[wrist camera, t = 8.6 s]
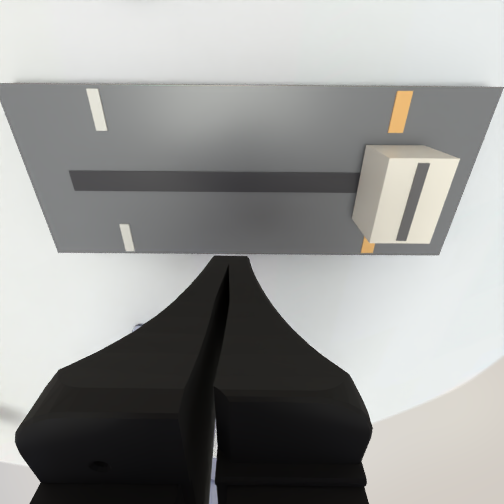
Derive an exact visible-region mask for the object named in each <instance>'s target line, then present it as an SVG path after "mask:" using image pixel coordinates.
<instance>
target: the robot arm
mask: <svg viewBox="0 0 504 504" xmlns="http://www.w3.org/2000/svg"><path fill="white" fill-rule="evenodd" d="M215 428H216V429H217V443H218V450H217V458H213V446H214V437H215ZM372 429H373V428H372V424H371V421H370V417H369V414H368V411H367V409H366V406H365V404H364V402H363V400H362V398H361V396H360V394H359V392H358V390H357V388H356V386H355V384H354V382H353V380H352V378H351V377H350V375H349V374H348V373H347V372H345V371H344V370H342V369H341V368H340V367H338V366H337V365H335V364H334V363H332V362H331V361H330V360H328V359H327V358H325V357H324V356H322V355H321V354H320V353H319V352H317V351H316V350H315V349H314V348H312V347H311V346H310V345H309V344H308V343H307V342H306V341H305V340H304V339H303V338H302V337H300V336H299V335H298V334H297V333H296V332H295V331H294V330H293V329H292V328H291V327H290V326H289V325H288V323H287V322H286V321H285V320H284V319H283V318H282V317H281V315H280V314H279V313H278V312H277V310H276V309H275V308H274V306H273V305H272V304H271V302H270V301H269V299H268V298H267V296H266V295H265V293H264V291H263V290H262V288H261V286H260V284H259V283H258V281H257V279H256V277H255V275H254V272H253V270H252V267H251V264H250V260H249V258H248V257H247V256H214V257H213V258H212V259H211V260H210V262H209V263H208V264H207V266H206V267H205V268H204V270H203V271H202V272H201V273H200V274H199V276H198V277H197V278H196V279H195V280H194V281H193V282H192V284H191V285H190V286H189V287H188V288H187V289H186V290H185V291H184V292H183V293H182V294H181V295H180V296H179V297H178V298H177V299H176V300H175V301H174V302H172V303H171V304H170V305H169V306H168V307H167V308H166V309H164V310H163V311H162V312H161V313H159V314H158V315H157V316H155V317H154V318H153V319H151V320H150V321H148V322H147V323H145V324H144V325H142V326H135V327H134V328H133V330H132V333H130V334H129V335H127V336H125V337H123V338H122V339H120V340H118V341H117V342H115V343H113V344H111V345H109V346H108V347H106V348H104V349H102V350H100V351H98V352H96V353H94V354H92V355H90V356H88V357H86V358H83V359H81V360H79V361H77V362H75V363H73V364H71V365H69V366H66V367H64V368H62V369H60V370H58V372H57V373H56V374H55V375H54V377H53V378H52V379H51V381H50V382H49V383H48V385H47V386H46V387H45V389H44V390H43V392H42V393H41V395H40V396H39V398H38V399H37V401H36V402H35V404H34V405H33V407H32V408H31V410H30V411H29V413H28V414H27V416H26V417H25V419H24V420H23V422H22V423H21V425H20V426H19V428H18V429H17V431H16V433H15V443H16V446H17V448H18V450H19V452H20V455H21V456H22V457H23V459H24V460H25V461H26V463H27V464H28V466H29V467H30V468H31V470H32V471H33V472H34V474H35V475H36V476H37V478H38V479H39V480H40V482H41V483H40V485H39V487H38V489H37V491H36V493H35V494H34V496H33V498H32V500H31V502H30V504H369V502H368V499H367V495H366V492H365V488H364V486H366V484H367V481H366V475H365V472H364V469H363V465H362V462H361V461H362V458H363V456H364V453H365V451H366V448H367V446H368V444H369V441H370V439H371V435H372Z"/></svg>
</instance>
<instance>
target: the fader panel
mask: <svg viewBox="0 0 504 504" xmlns="http://www.w3.org/2000/svg"><path fill="white" fill-rule="evenodd" d="M503 88H504V87H453V86H321V85H190V84H58V83H0V102H1V104H2V107H3V109H4V112H5V115H6V117H7V120H8V123H9V125H10V128H11V130H12V133H13V136H14V138H15V141H16V143H17V146H18V149H19V151H20V154H21V157H22V159H23V162H24V164H25V167H26V170H27V172H28V175H29V177H30V180H31V183H32V185H33V188H34V191H35V193H36V196H37V198H38V201H39V204H40V206H41V209H42V211H43V214H44V217H45V219H46V222H47V224H48V227H49V230H50V232H51V235H52V238H53V240H54V243H55V245H56V248H57V251H58V253H184V254H322V255H439V254H440V251H441V249H442V246H443V243H444V241H445V238H446V236H447V233H448V231H449V228H450V225H451V223H452V220H453V218H454V215H455V212H456V210H457V207H458V205H459V202H460V199H461V197H462V194H463V192H464V189H465V186H466V184H467V181H468V179H469V176H470V174H471V171H472V168H473V166H474V163H475V161H476V158H477V155H478V153H479V150H480V148H481V145H482V142H483V140H484V137H485V135H486V132H487V130H488V127H489V124H490V122H491V119H492V117H493V114H494V111H495V109H496V106H497V104H498V101H499V98H500V96H501V93H502V91H503ZM366 145H425V146H427V147H430V148H433V149H435V150H438V151H441V152H444V153H446V154H449V155H452V156H454V157H457V158H460V161H459V163H458V166H457V169H456V172H455V175H454V177H453V180H452V183H451V186H450V188H449V191H448V194H447V197H446V200H445V202H444V205H443V208H442V211H441V214H440V216H439V219H438V222H437V225H436V227H435V230H434V233H433V236H432V239H431V241H430V244H409V243H369V242H368V241H367V239H366V238H365V236H364V235H363V234H362V232H361V231H360V229H359V228H358V227H357V225H356V224H355V222H354V221H353V220H352V215H353V210H354V205H355V200H356V195H357V189H358V184H359V179H360V174H361V169H362V164H363V159H364V154H365V148H366Z"/></svg>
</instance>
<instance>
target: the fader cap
mask: <svg viewBox="0 0 504 504" xmlns="http://www.w3.org/2000/svg"><path fill="white" fill-rule="evenodd" d="M459 161H460V158H457V157H454V156H452V155H449V154H446V153H444V152H441V151H438V150H435V149H433V148H430V147H427V146H425V145H366V148H365V154H364V159H363V164H362V169H361V174H360V179H359V184H358V189H357V195H356V200H355V205H354V210H353V215H352V220H353V221H354V222H355V224H356V225H357V227H358V228H359V229H360V231H361V232H362V234H363V235H364V236H365V238H366V239H367V241H368V242H369V243H409V244H430V241H431V239H432V236H433V233H434V230H435V227H436V225H437V222H438V219H439V216H440V214H441V211H442V208H443V205H444V202H445V200H446V197H447V194H448V191H449V188H450V186H451V183H452V180H453V177H454V175H455V172H456V169H457V166H458V163H459Z"/></svg>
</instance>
